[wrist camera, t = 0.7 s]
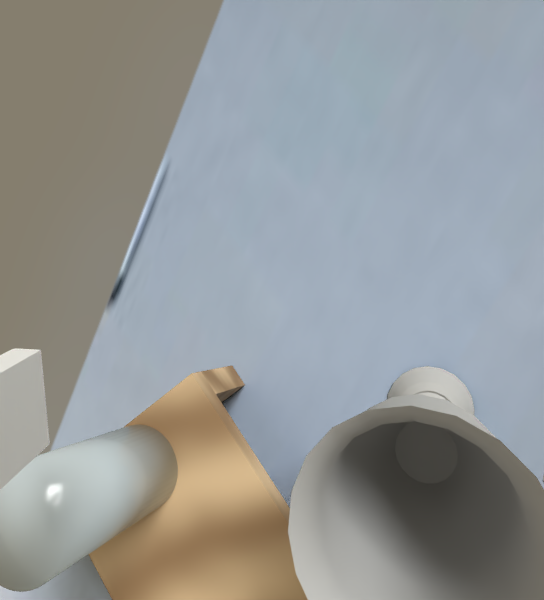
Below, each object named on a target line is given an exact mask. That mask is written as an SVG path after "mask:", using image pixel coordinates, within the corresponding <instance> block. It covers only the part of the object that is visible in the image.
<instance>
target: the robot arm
mask: <svg viewBox="0 0 544 600" xmlns="http://www.w3.org/2000/svg"><path fill="white" fill-rule="evenodd" d="M49 443H50V442H49V432H48V421H47V411H46V400H45V389H44V379H43V368H42V358H41V350H32V349H12V350H10V351H8V352H6V353H4V354H2V355H0V490H1V489H2V488H3V487H4V486H5V485H6V484H7V483H8V482H9V481H10V480H11V479H12V478H13V477H15V476H16V475H17V474H18V473H19V472H20V471H21V470H22V469H23V468H24V467H25V466H26V465H27V464H29V463H30V462H31V461H32V460H33V459H34V458H35V457H36V456H37V455H38V454H39V453H40V452H41V451H42V450H44V449H45V448H46V446H48V445H49ZM543 482H544V476H543Z"/></svg>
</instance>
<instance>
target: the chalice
mask: <svg viewBox="0 0 544 600" xmlns="http://www.w3.org/2000/svg"><path fill="white" fill-rule="evenodd" d="M288 535H289V540H290V545H291V551H292V556H293V561H294V567H295V572H296V575H297V577H298V579H299V581H300V584H301V586H302V588H303V590H304V592H305V594H306V597H307V599H308V600H544V490H543V488H542V486H541V484H540V482H539V481H538V479H537V477H536V476H535V475H534V474H533V473H532V472H531V471H530V470H529V469H528V468H527V467H526V466H525V465H524V464H523V463H522V462H521V461H520V460H519V459H518V458H517V457H516V456H515V455H514V454H513V453H512V452H511V451H510V450H509V449H508V448H507V447H506V446H505V445H504V444H503V443H502V442H501V441H500V440H498V439H496V437H495V436H494V435H493V434H492V433H491V432H490V431H489V430H488V429H487V428H486V427H485V426H484V425H483V424H482V423H481V422H480V421H479V420H478V419H477V418H476V417H475V416H474V406H473V401H472V397H471V395H470V393H469V391H468V390H467V388H466V386H465V384H463V383H462V382H461V381H460V380H459V379H458V378H457V377H456V376H455V375H454V374H451V373H449V372H447V371H445V370H443V369H441V368H435V367H429V366H426V367H419V368H414V369H412V370H409V371H407V372H405V373H403V374H402V375H401V376H400V377H399V378H398V379H397V380H396V381H395V382H394V383H393V385H392V387H391V389H390V391H389V393H388V398H387V400H385V401H383V402H381V403H379V404H377V405H375V406H373V407H371V408H369V409H368V410H367V411H365V412H363V413H361V414H359V415H357V416H355V417H353V418H351V419H349V420H347V421H345V422H343V423H341V424H339V425H337V426H335V427H333V428H332V429H331V430H330V431H329V432H328V433H327V434H326V435H325V436H324V437H323V438H322V439H321V441H320V442H319V443H318V444H317V445H316V446H315V447H314V448H313V449H312V450H311V451H310V453H309V454H308V455H307V456H306V458H305V460H304V463H303V465H302V468H301V470H300V472H299V475H298V477H297V480H296V482H295V484H294V487H293V489H292V492H291V502H290V514H289V526H288Z"/></svg>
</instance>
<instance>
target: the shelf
mask: <svg viewBox="0 0 544 600" xmlns="http://www.w3.org/2000/svg"><path fill="white" fill-rule="evenodd" d="M244 385H245V384H244V383H243V381H242V380H241V378H240V377H239V375H238V374H237V372H236V371H235V369H234V368H233V366H227V367H222V368H217V369H212V370H207V371H201V372H196V373H192V374H190V375H189V376H188V377H187V378H185V379H184V380H183V381H182V382H180V383H179V384H178V385H177V386H175V387H174V388H173V389H171V390H170V391H169V392H168V393H166V394H165V395H164V396H163V397H161V398H160V399H159V400H158V401H156V402H155V403H154V404H152V405H151V406H150V407H149V408H147V409H146V410H145V411H144V412H142V413H141V414H140V415H139V416H137V417H136V418H135V419H133V420H132V421H131V422H130V423H128V424H127V425H126V426H125V427H127V426H130V425H135V424H141V425H147V426H150V427H152V428H154V429H156V430H157V431H159V432H160V433H161V434H163V435H164V436H165V438H166V439H167V440H168V441H169V443H170V444H171V446H172V448H173V450H174V453H175V456H176V459H177V465H178V476H177V482H176V486H175V489H174V491H173V493H172V495H171V496H170V498H169V499H168V500H167V501H166V502H165V503H164V504H163V505H162V506H160V507H159V508H157V509H156V510H154V511H153V512H151V513H150V514H148V515H147V516H145V517H144V518H142V519H141V520H139V521H138V522H136V523H135V524H133V525H132V526H130V527H129V528H127V529H126V530H124V531H123V532H121V533H120V534H118V535H117V536H115V537H114V538H112V539H111V540H109V541H108V542H106V543H105V544H103V545H102V546H100V547H99V548H97V549H96V550H94V551H93V552H91V553H90V554H89V556H90V558H91V560H92V562H93V564H94V566H95V568H96V570H97V571H98V573H99V575H100V577H101V579H102V581H103V583H104V585H105V587H106V588H107V590H108V592H109V594H110V596H111V598H112V600H308V599H307V597H306V594H305V592H304V590H303V588H302V586H301V584H300V581H299V579H298V577H297V575H296V572H295V567H294V561H293V556H292V551H291V545H290V540H289V535H288V526H289V514H290V508H289V506H288V505H287V503H286V502H285V500H284V499H283V497H282V496H281V494H280V492H279V491H278V489H277V488H276V486H275V485H274V483H273V482H272V480H271V479H270V477H269V475H268V474H267V472H266V471H265V469H264V468H263V466H262V465H261V463H260V462H259V460H258V458H257V457H256V455H255V454H254V452H253V451H252V449H251V448H250V446H249V445H248V443H247V441H246V440H245V438H244V437H243V435H242V434H241V432H240V431H239V429H238V428H237V426H236V425H235V423H234V421H233V420H232V418H231V417H230V415H229V414H228V412H227V411H226V409H225V408H224V406H223V404H222V402H223V401H224V400H226V399H227V398H228V397H230V396H231V395H232V394H234V393H235V392H236V391H237V390H239V389H240V388H241V387H243V386H244ZM123 428H124V427H123Z"/></svg>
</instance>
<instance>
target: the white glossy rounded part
mask: <svg viewBox="0 0 544 600" xmlns="http://www.w3.org/2000/svg"><path fill="white" fill-rule="evenodd" d="M177 476H178V465H177V459H176V456H175V453H174V450H173V448H172V446H171V444H170V443H169V441H168V440H167V439H166V438H165V436H164V435H163V434H161V433H160V432H159V431H157V430H156V429H154V428H152V427H150V426H147V425H141V424H135V425H130V426H127V427H124V428H121V429H118V430H115V431H111V432H108V433H105V434H102V435H99V436H96V437H93V438H90V439H87V440H84V441H81V442H78V443H75V444H72V445H69V446H66V447H62V448H59V449H56V450H53V451H50V452H47V453H45V454H41V455H38V456H36V457H35V458H34V459H33V460H32V461H31V462H30V463H29V464H27V465H26V466H25V467H24V468H23V469H22V470H21V471H20V472H19V473H18V474H17V475H16V476H15V477H13V478H12V479H11V480H10V481H9V482H8V483H7V484H6V485H5V486H4V487H3V488H2V489H1V490H0V586H2V587H4V588H6V589H9V590H12V591H19V592H21V591H30V590H33V589H36V588H38V587H40V586H42V585H43V584H45V583H46V582H48V581H49V580H51V579H52V578H54V577H55V576H57V575H58V574H60V573H61V572H63V571H64V570H66V569H67V568H69V567H70V566H72V565H73V564H75V563H76V562H78V561H79V560H81V559H82V558H84V557H85V556H87V555H88V554H90V553H91V552H93V551H94V550H96V549H97V548H99V547H100V546H102V545H103V544H105V543H106V542H108V541H109V540H111V539H112V538H114V537H115V536H117V535H118V534H120V533H121V532H123V531H124V530H126V529H127V528H129V527H130V526H132V525H133V524H135V523H136V522H138V521H139V520H141V519H142V518H144V517H145V516H147V515H148V514H150V513H151V512H153V511H154V510H156V509H157V508H159V507H160V506H162V505H163V504H164V503H165V502H166V501H167V500H168V499H169V498H170V496H171V495H172V493H173V491H174V489H175V486H176V482H177Z"/></svg>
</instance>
